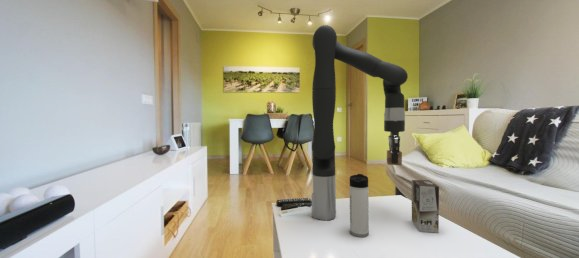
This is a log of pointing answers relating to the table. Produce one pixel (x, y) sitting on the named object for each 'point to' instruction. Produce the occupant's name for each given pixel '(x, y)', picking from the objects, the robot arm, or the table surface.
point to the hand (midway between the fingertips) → (393, 161)
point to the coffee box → (425, 205)
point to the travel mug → (359, 205)
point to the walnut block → (389, 158)
